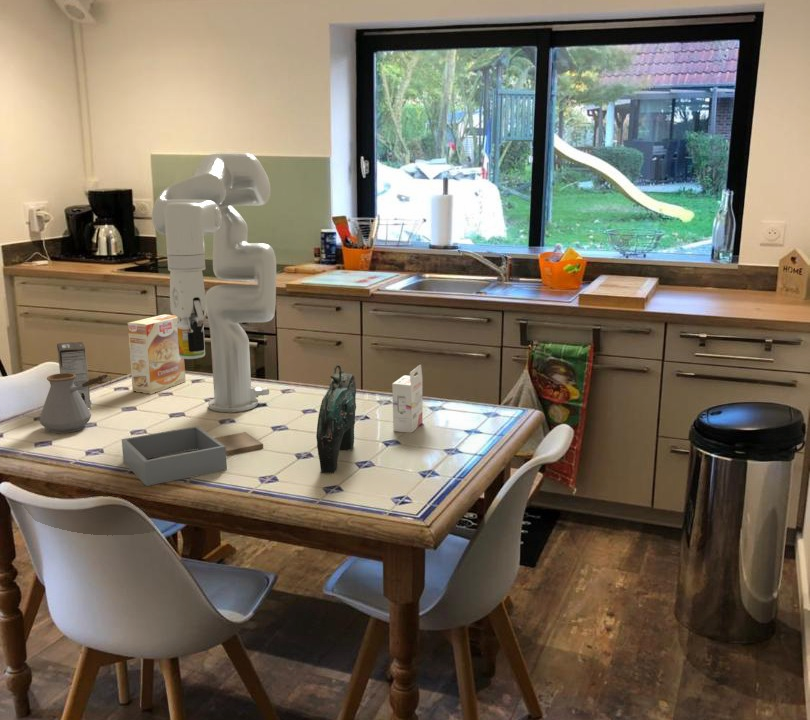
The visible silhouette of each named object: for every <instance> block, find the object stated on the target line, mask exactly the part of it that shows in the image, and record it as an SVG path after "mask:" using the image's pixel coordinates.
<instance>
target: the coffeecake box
mask: <svg viewBox="0 0 810 720" xmlns="http://www.w3.org/2000/svg"><path fill="white" fill-rule="evenodd" d="M177 325H178V318H177V316H175V315H173V314H165V313H164V314H160V315H156V316H152V317H148V318H143V319H139V320H134V321H130V322H127V333H128V347H129V358H130V362H129V363H130V372H131V373H130V374H131V386H132V387H131V388H132V389H131V390H132V392H133V391H136V392H137V393H140V392H143V393H142V394H146V393H149V394H148V395H153V394H155V392H156V393H158V392H161V391H164V390H167V389H169V387H170V388H172V387H176V386H179V385H181V384H183V382H184V383H186V368H185V359H183V358H181V357H180V356H179V345H178V330H177ZM180 383H181V384H180ZM136 392H135V393H136Z"/></svg>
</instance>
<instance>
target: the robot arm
mask: <svg viewBox="0 0 810 720" xmlns="http://www.w3.org/2000/svg"><path fill="white" fill-rule="evenodd" d="M271 193H272V191H271V183H270V179H269V176H268V174H267V173H266V170H265V169H264V167H263V165H262V163H261V161H260V160H259V159H258V158H257V157H256V156H254V155H253V154H251V153H245V152H243V153H236V152H234V153H228V152H227V153H225V152H224V153H222V152H221V153H212V154H209V155H207V156H205V157H204V158H203V159H202V160H201V162H200V164H199V165H198V166H197V169H196V170H195V173H194V174H193V176H191V177H188V178H185V179H183V180H180V181H179V182H176V183H174V184H173V183H172V184H171V185H169V186H168V187H165V189H163V190H161V192H160V193H159V195H158V197H157V198H156V200H155V202H154V204H153V207H152V210H151V211H152V212H151V220H152V221H151V222H152V226H153V227H154V229H155V231H156V232H157V233H159V234H161V235H164V236H165V241H166V242H165V244H166V255H167V257H166V259H167V269H168V271H169V272H170V274H169V303H170V304H169V307H170V308H169V309H170V313H171V315H175V316H177V318H178V323H179V322H180V321H181V319H183V320H185V319H187V321H188V327H189V332H190V333H188V347H189V351H190V352H195V351H203V350H204V341H205V329H204V328H203V325H205V324H204V322H205V316H207V322H208V326H209V333H210V334H209V335H210V347H211V364H212V379H213V380H212V381H213V382H212V383H213V399H210V401H208V408H209V409H210V410H211V411H215V412H219V413H237V412H244V411H248V410H252V409H254V408H256V407H257V406H258V405H259V400H258V398H259V396H260V397H261V396H269V394H270V389H269V387H262V388H261V387H260V386H258V387H253V386H252V377H251V376H252V375H251V359H250V358H251V355H250V354H251V353H250V340H249V337H248V334H247V333H246V330H245V329H244V328H243V327H242V326H241V325H240V323H268V322H270V321H272V320H273V319H274V317H275V313H276V307H277V306H276V305H277V304H276V302H277V301H276V299H277V298H276V297H277V257H276V253H275V250H274V249H273V247H272V245H269V244H268V243H261V242H255V243H254V242H248V230H249V227H248V224H247V222H246V221H245V219H244V217H242V215H241V214H240V213H239V212H238V210H237V209H235V207H237V206H238V207H244V206H247V207H248V206H249V207H250V206H251V207H252V206H253V207H254V206H256V207H257V206H259V207H260V206H264V205H265V204H267V203H268V201H269V200H270V198H271ZM234 206H235V207H234ZM210 235H213V245H212V269H213V270H212V271H213V274H214V276H215V277H216V278H217V279H219V280H223V281H232V282H233V281H236V282H237V281H238V282H239V281H240V282H241V281H243V282H244V281H245V282H246V281H248V282H256V283H257V284H219V285H215V286H212V287H210V288H209V289H207V291H205V282H204V274H203V271H206V255H205V239H204V238H205V237H204V236H210ZM205 292H206V293H205ZM191 315H196V317H191V318H190V316H191ZM180 318H181V319H180ZM192 321H194V323H193V325H192ZM203 332H204V333H203Z"/></svg>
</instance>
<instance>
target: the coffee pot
mask: <svg viewBox="0 0 810 720" xmlns="http://www.w3.org/2000/svg"><path fill="white" fill-rule="evenodd" d="M75 377H76V375H75V374H72V373H61V374H60V373H55V374H51V375H48V376H47V377H46V380H47V381H48V383H49V384H50V387H49V390H48V393H47V396H46V399H45V402H44V405H43V408H42V411H41V413H40V416H39V422H40V424H41V426H43V427H44V428H45V429H47V430H48V431H49V432H51V433H53V434H68V433H75V432H78V431H80V430H82V429H83V428H84V427H85V426H86V425H87V424H88V422H90V419H91V417H92V413H91V411H90V409H88V407H87V406H86V404H85V402H84V400H83V399H82V397H81V395H80V394H79V392H78V389H81V388H83V387H86V386H89V387H90V386H92V385H95V384H96V383H98V382H101V381H103V382H104V384H107V382H106V381H105V380H104V379H107V378H110V379H112V376H110V375H108V374H103V375H98V377H93V378H92V379H88V381H87V382H85V383H83V384H81V385H79V386H76V387H75V385H74V378H75ZM109 381H110V382H108V384H109V383H111V382H112V380H109Z"/></svg>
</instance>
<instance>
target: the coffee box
mask: <svg viewBox="0 0 810 720" xmlns="http://www.w3.org/2000/svg"><path fill="white" fill-rule="evenodd" d="M56 348H57V356H58V358H57V359H58V367H59V374H61V373H72V374H75V375H76V377H75V378H74V385H75V387H76V386H79V385H81V384H83V383H85V382H87V381H89V372H88V361H87V359H88V358H87V352H86V351H87V349H86V347H85V345H84V342H83V341H77V342H72V341H71V342H59V343H57V344H56ZM78 392H79V394H80V395H81V397H82V399H83V400H84V402H85V404H86V406H87V407H88V408H90V409H91V407H92V406H91V395H90V385H89V386H86V387H83V388H81V389H78Z"/></svg>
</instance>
